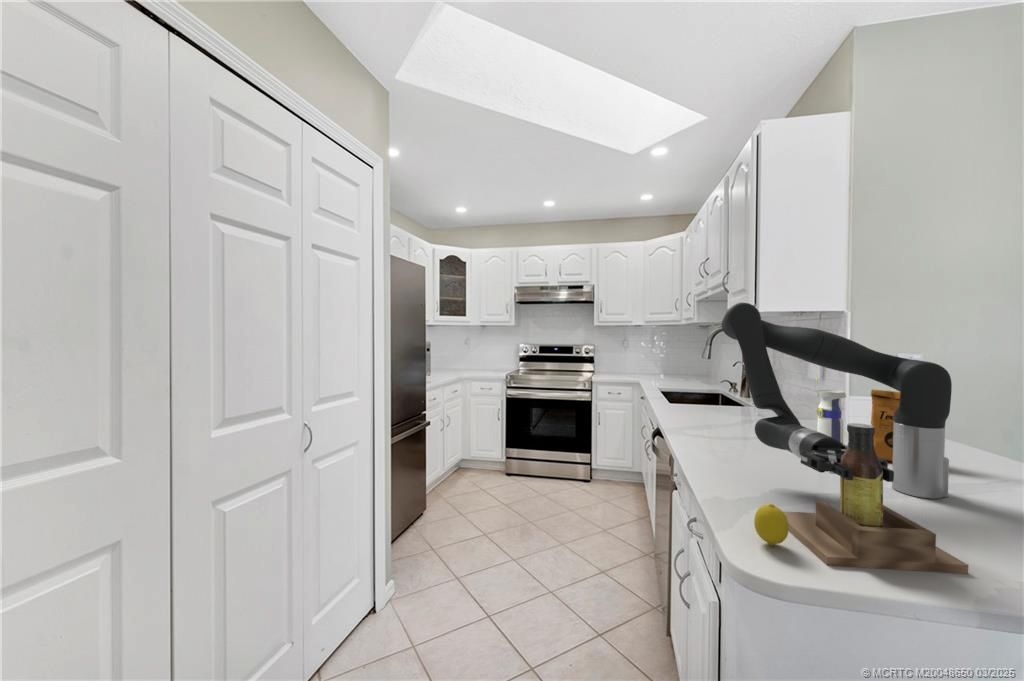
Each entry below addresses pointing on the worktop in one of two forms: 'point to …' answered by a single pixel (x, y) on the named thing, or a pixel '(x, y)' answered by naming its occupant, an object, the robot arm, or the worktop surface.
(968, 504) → the worktop surface
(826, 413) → the white and blue bottle
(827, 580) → the worktop surface
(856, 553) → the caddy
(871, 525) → the sauce bottle
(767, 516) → the lemon
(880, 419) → the coffee package
